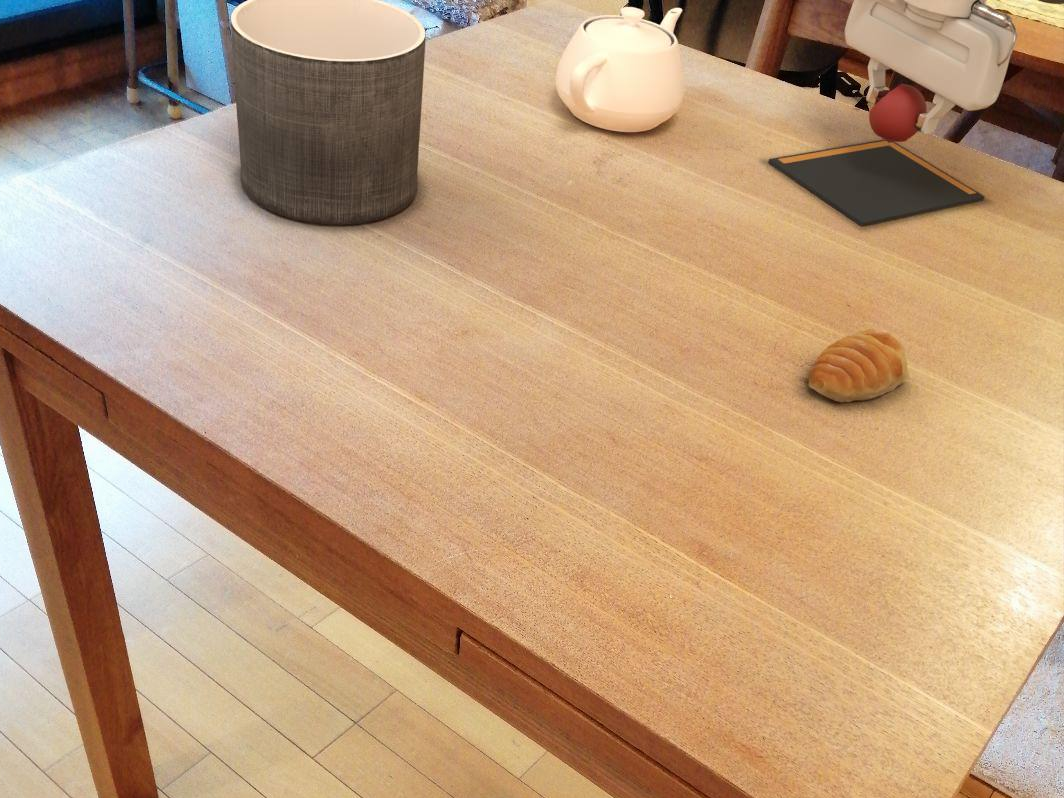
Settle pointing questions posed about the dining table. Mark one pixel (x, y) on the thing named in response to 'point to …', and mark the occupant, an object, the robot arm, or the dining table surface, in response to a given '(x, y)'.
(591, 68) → the teapot
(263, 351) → the dining table surface
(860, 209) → the corner mat
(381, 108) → the planter
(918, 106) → the fruit
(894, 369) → the pastry
